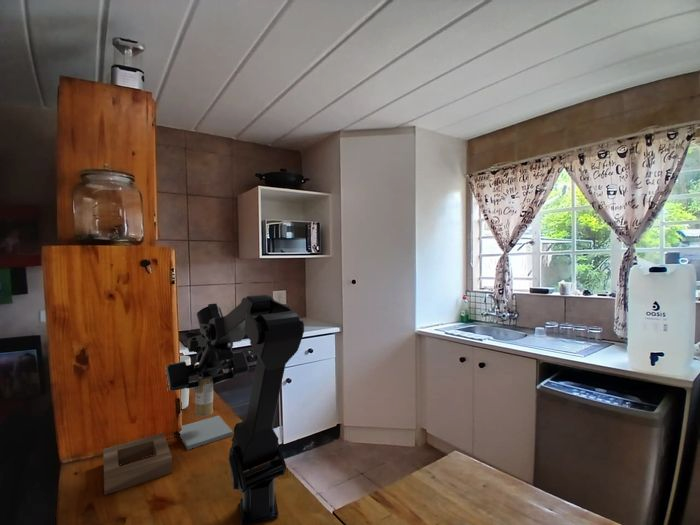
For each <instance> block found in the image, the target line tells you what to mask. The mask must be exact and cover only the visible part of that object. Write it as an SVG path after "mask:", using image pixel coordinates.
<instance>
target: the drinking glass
mask: <svg viewBox="0 0 700 525" xmlns="http://www.w3.org/2000/svg"><path fill="white" fill-rule="evenodd" d="M179 356H180V362H182V361H185V362H186V365H192V363H191V362H192V360H191V357H190V356H189V355H179ZM189 396H190V388H188V389H187V388H185V389H181V402H182V410H184V409H186V408H188V406H189V404H190V403H189Z"/></svg>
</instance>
